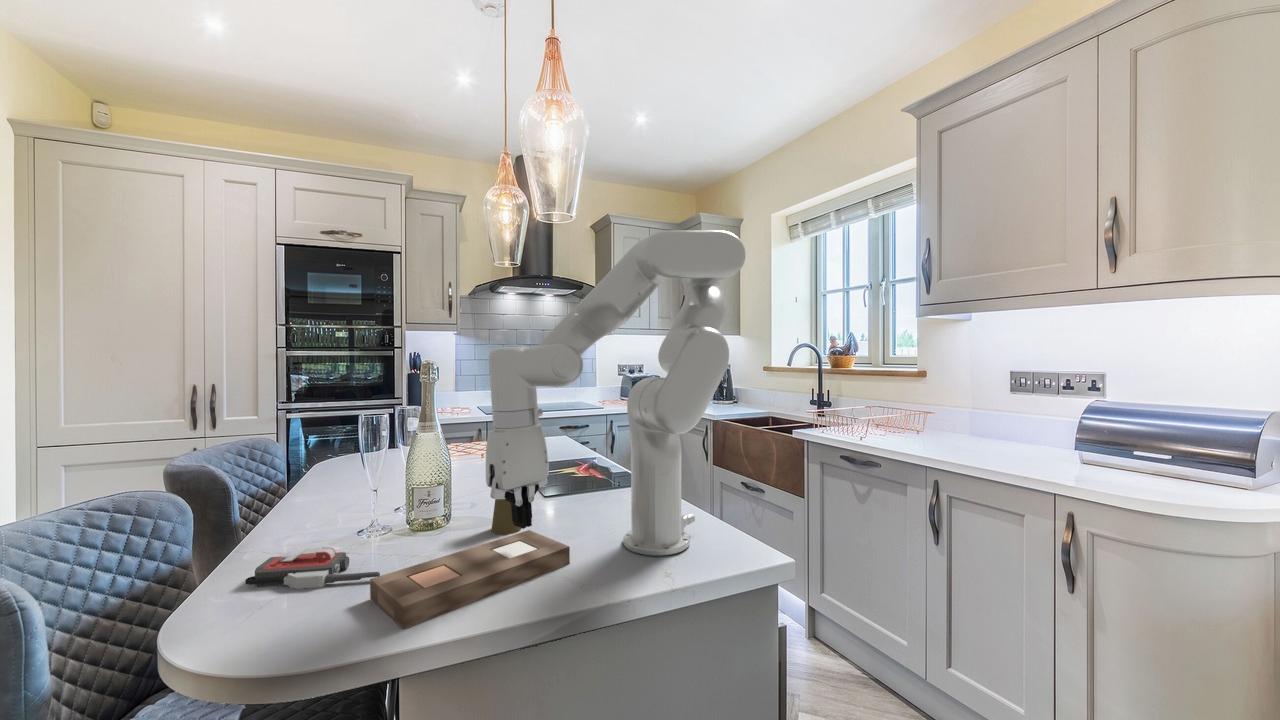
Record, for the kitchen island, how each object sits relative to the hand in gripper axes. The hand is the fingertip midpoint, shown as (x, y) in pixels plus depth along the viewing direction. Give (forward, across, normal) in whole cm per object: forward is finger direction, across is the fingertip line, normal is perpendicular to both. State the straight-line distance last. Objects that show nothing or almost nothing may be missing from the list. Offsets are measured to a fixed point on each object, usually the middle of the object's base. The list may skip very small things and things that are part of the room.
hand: (522, 525), depth 87 cm
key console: (+6, +8, -1) cm, 11 cm away
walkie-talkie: (+6, +25, -21) cm, 33 cm away
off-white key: (+6, +1, -1) cm, 6 cm away
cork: (+7, -7, -18) cm, 20 cm away
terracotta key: (+6, +15, -1) cm, 16 cm away
